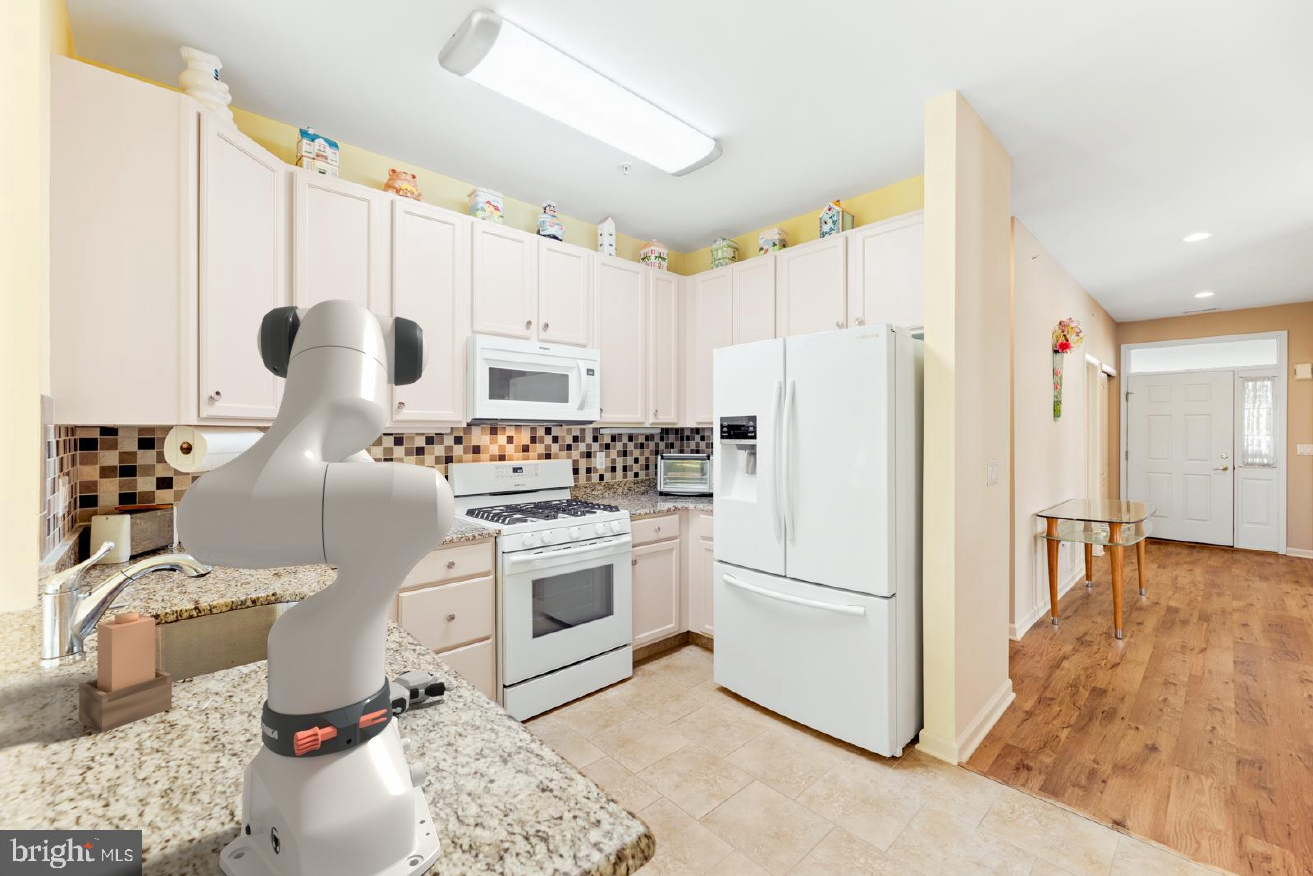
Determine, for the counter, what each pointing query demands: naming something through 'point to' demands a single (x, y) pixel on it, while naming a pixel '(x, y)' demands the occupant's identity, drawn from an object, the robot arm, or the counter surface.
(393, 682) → the robot toy
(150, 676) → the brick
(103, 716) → the brown wooden box
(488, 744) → the counter surface
